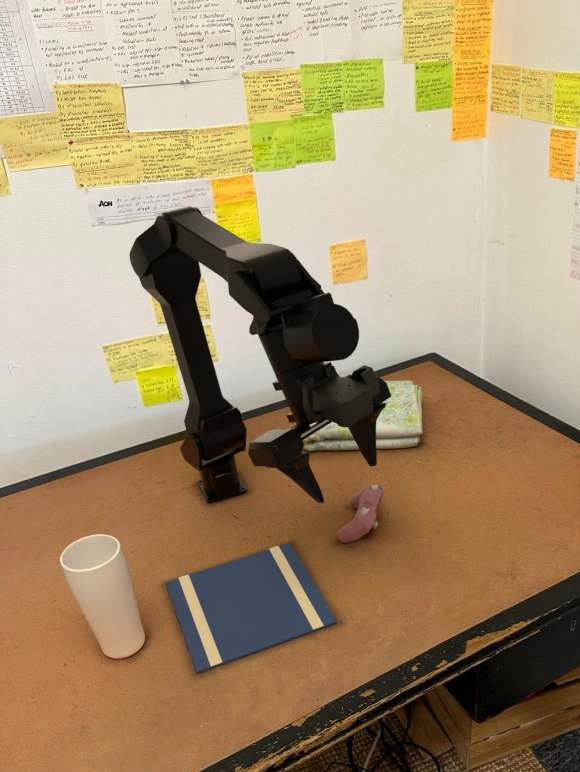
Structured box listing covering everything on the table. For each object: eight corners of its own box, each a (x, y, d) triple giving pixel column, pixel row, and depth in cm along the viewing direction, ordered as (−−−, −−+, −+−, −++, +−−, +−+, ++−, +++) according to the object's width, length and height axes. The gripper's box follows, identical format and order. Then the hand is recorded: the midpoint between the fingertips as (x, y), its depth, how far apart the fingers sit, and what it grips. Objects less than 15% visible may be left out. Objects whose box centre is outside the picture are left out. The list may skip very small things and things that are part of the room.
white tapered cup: (122, 673, 89) (86, 578, 80) (84, 652, 92) (45, 559, 83) (163, 637, 94) (133, 543, 85) (126, 618, 97) (93, 526, 88)
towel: (425, 449, 126) (425, 423, 123) (300, 454, 127) (296, 428, 124) (422, 398, 141) (421, 374, 138) (310, 403, 141) (307, 379, 138)
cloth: (166, 584, 102) (165, 581, 101) (290, 544, 107) (290, 541, 107) (196, 674, 88) (195, 671, 88) (337, 623, 94) (337, 620, 94)
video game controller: (361, 555, 107) (380, 522, 103) (332, 541, 106) (350, 507, 102) (375, 514, 115) (394, 481, 110) (349, 501, 114) (366, 468, 110)
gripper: (275, 393, 74) (334, 527, 80) (398, 324, 85) (442, 447, 90) (220, 400, 83) (277, 521, 88) (338, 337, 93) (382, 448, 99)
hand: (347, 483), depth 91 cm, fingers open, 9 cm apart
